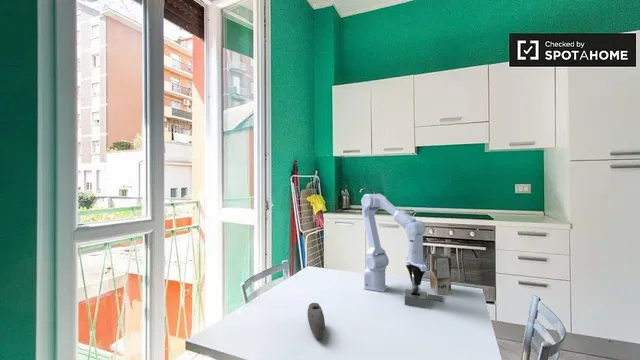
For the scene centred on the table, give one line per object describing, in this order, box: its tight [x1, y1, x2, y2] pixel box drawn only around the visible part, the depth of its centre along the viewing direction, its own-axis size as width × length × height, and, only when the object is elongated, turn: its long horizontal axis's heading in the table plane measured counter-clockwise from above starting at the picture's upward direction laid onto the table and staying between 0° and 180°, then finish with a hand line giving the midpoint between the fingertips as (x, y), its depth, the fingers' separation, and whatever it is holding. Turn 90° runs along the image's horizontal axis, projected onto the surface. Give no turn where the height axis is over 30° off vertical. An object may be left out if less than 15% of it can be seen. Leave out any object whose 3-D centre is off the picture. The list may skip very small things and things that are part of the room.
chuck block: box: [404, 287, 428, 309], centre depth 120 cm, size 8×15×4 cm, turn 156°
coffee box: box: [429, 252, 452, 295], centre depth 130 cm, size 9×6×16 cm
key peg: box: [411, 273, 420, 293], centre depth 117 cm, size 2×2×8 cm
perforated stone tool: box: [307, 302, 326, 340], centre depth 95 cm, size 15×5×7 cm, turn 8°
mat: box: [427, 293, 444, 303], centre depth 121 cm, size 6×6×1 cm
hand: (415, 283), depth 117 cm, fingers closed on key peg, 2 cm apart
